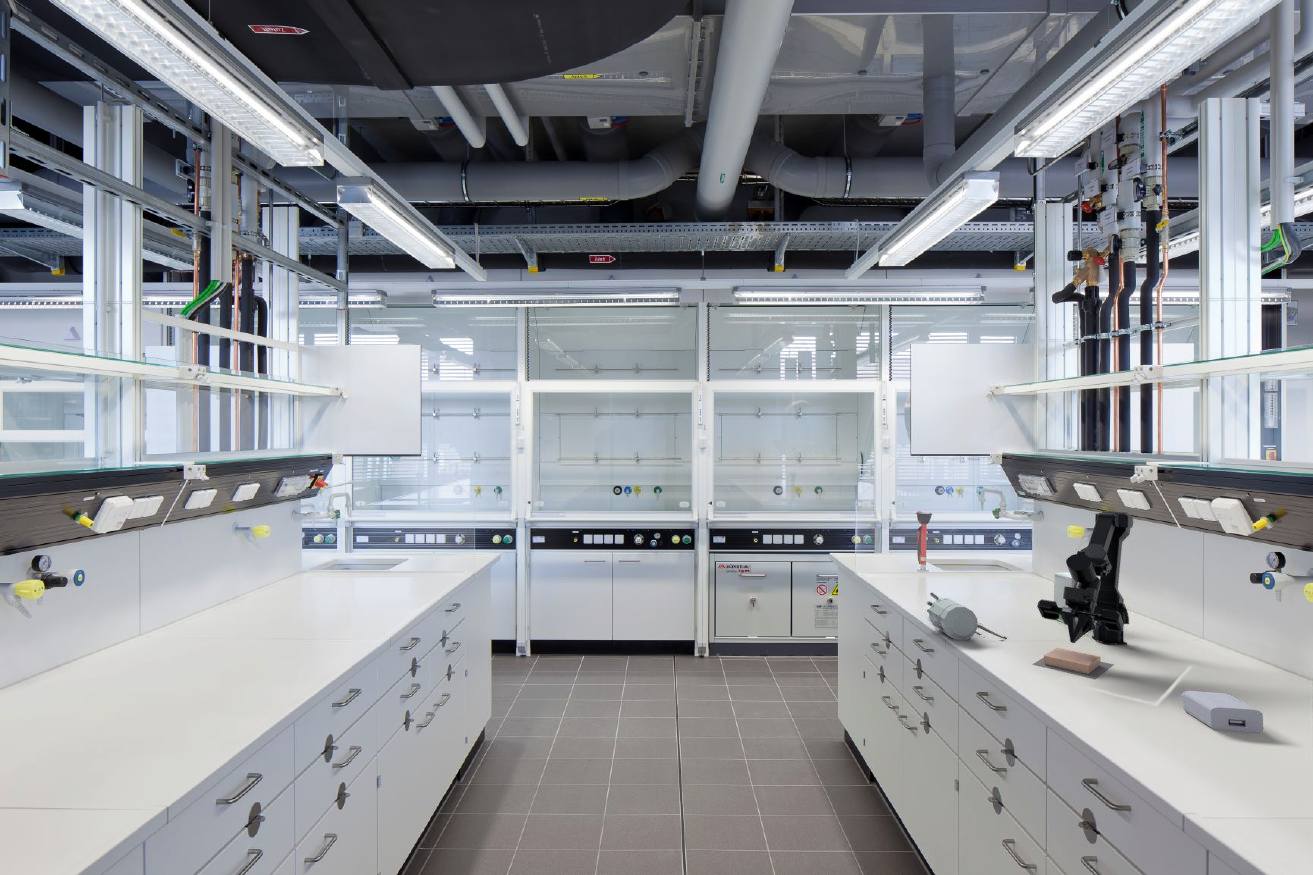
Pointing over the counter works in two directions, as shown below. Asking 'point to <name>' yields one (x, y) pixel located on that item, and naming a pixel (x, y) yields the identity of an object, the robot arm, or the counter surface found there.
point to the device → (952, 618)
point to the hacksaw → (989, 632)
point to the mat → (1092, 674)
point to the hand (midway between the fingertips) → (1072, 641)
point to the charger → (1222, 711)
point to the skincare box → (1062, 589)
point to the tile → (1072, 660)
